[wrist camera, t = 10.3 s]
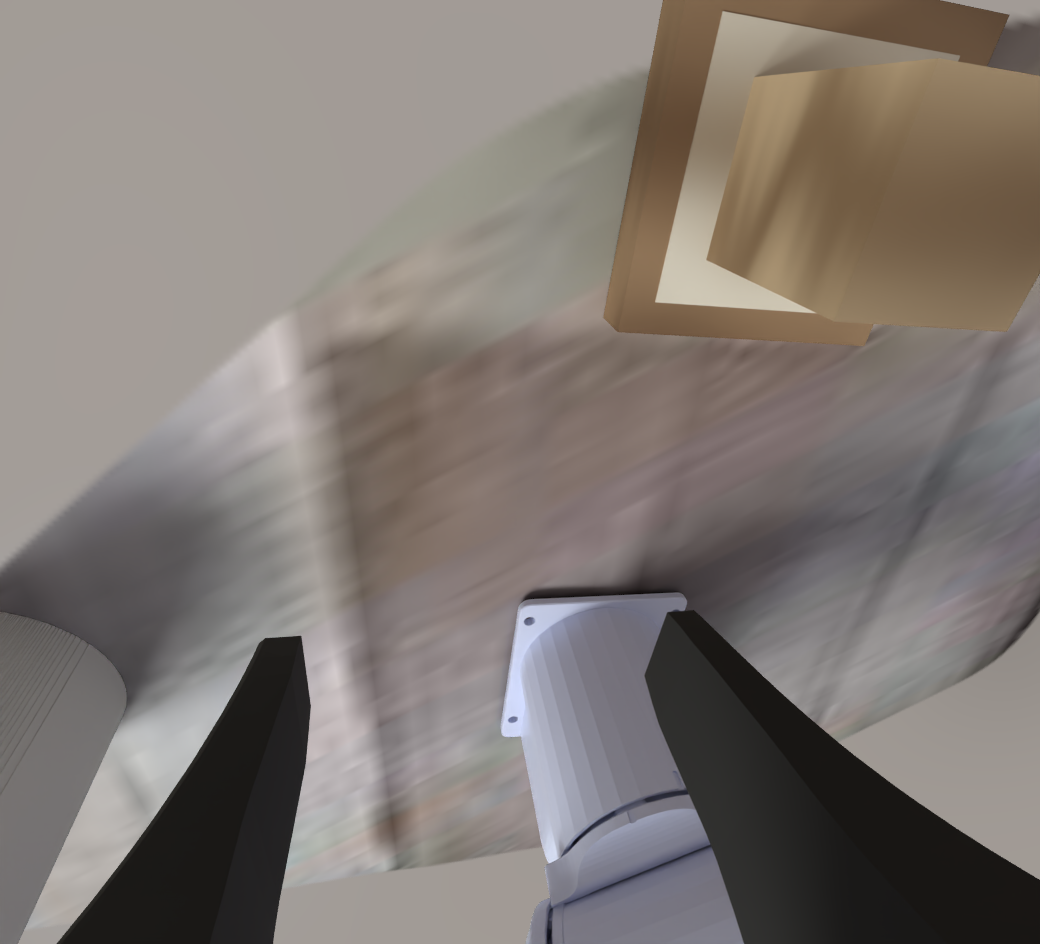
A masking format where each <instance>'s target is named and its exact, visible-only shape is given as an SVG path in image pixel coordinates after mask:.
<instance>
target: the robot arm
mask: <svg viewBox="0 0 1040 944" xmlns="http://www.w3.org/2000/svg"><path fill="white" fill-rule="evenodd" d="M686 606H687V600H686V598H685V597H684V595H683V594H682V593H655V594H634V595H612V596H590V597H569V598H547V599H529V600H525V601H523V602H522V603H521V604H520V605H519V608H518V613H517V620H516V627H515V633H514V640H513V647H512V654H511V660H510V667H509V674H508V680H507V687H506V694H505V700H504V707H503V714H502V720H501V732H502V735H503V736H506V737H516V736H521V739H522V744H523V749H524V755H525V760H526V765H527V770H528V775H529V781H530V786H531V791H532V796H533V801H534V807H535V812H536V817H537V822H538V827H539V832H540V838H541V843H542V846H543V850H544V853H545V856H546V858H547V861H548V863H549V864H547V865H546V866H545V872H546V878H547V884H548V889H549V894H550V898H548V899H546V900H544V901H542V902H540V904H538V905H537V907H536V909H535V911H534V913H533V916H532V921H531V926H530V930H529V933H528V936H527V939H526V944H1040V880H1039V879H1037V878H1035V877H1034V876H1032V875H1030V874H1029V873H1027V872H1025V871H1024V870H1022V869H1021V868H1019V867H1017V866H1016V865H1014V864H1012V863H1011V862H1009V861H1007V860H1006V859H1004V858H1002V857H1001V856H999V855H997V854H996V853H994V852H992V851H991V850H989V849H988V848H986V847H984V846H983V845H981V844H980V843H978V842H977V841H975V840H973V839H972V838H970V837H969V836H967V835H966V834H964V833H962V832H961V831H959V830H958V829H956V828H955V827H953V826H952V825H950V824H949V823H947V822H946V821H945V820H943V819H941V818H940V817H938V816H937V815H936V814H934V813H933V812H931V811H930V810H928V809H927V808H925V807H924V806H922V805H921V804H919V803H918V802H917V801H915V800H914V799H912V798H911V797H909V796H908V795H906V794H905V793H904V792H902V791H901V790H900V789H898V788H897V787H895V786H894V785H893V784H891V783H890V782H888V781H887V780H886V779H885V778H883V777H882V776H881V775H879V774H878V773H877V772H876V771H874V770H873V769H872V768H870V767H869V766H867V765H866V764H865V763H864V762H862V761H861V760H860V759H858V758H857V757H856V756H854V755H853V754H852V753H851V752H849V751H848V750H847V749H846V748H844V747H843V746H842V745H841V744H839V743H838V742H837V741H836V740H835V739H833V738H832V737H831V736H830V735H829V734H828V733H826V732H825V731H824V730H823V729H822V728H820V727H819V726H818V725H817V724H816V723H815V722H813V721H812V720H811V719H810V718H809V717H807V716H806V715H805V714H804V713H803V712H802V711H801V710H799V709H798V708H797V707H796V706H795V705H794V704H793V703H792V702H790V701H789V700H788V699H787V698H786V697H785V696H784V695H783V694H782V693H781V692H779V691H778V690H777V689H776V688H775V687H774V686H773V685H772V684H771V683H770V682H769V681H768V680H766V679H765V678H764V677H763V676H762V675H761V674H760V673H759V672H758V671H757V670H756V669H755V668H754V667H753V666H752V665H751V664H750V663H748V662H747V661H746V660H745V659H744V658H743V657H742V656H741V655H740V654H739V653H738V652H737V651H736V650H735V649H734V648H733V647H732V646H731V645H730V644H729V643H728V642H727V641H726V640H725V639H724V638H723V637H721V636H720V635H719V634H718V633H717V632H716V631H715V630H714V629H713V628H712V627H711V626H710V625H709V624H708V623H707V622H706V621H705V620H704V619H703V618H702V617H701V616H699V615H698V614H697V613H696V612H695V611H694V610H691V611H685V608H686ZM528 617H531V618H529V619H526V618H528ZM310 708H311V705H310V697H309V690H308V682H307V675H306V668H305V660H304V653H303V646H302V638H301V636H293V637H278V638H265V639H264V640H263V641H261V642H260V643H259V645H258V647H257V649H256V651H255V653H254V655H253V657H252V659H251V661H250V663H249V665H248V667H247V669H246V671H245V673H244V675H243V677H242V679H241V681H240V682H239V684H238V686H237V688H236V690H235V692H234V693H233V695H232V697H231V699H230V700H229V702H228V704H227V706H226V707H225V709H224V711H223V713H222V714H221V716H220V718H219V719H218V721H217V722H216V724H215V726H214V727H213V729H212V731H211V732H210V734H209V735H208V737H207V739H206V740H205V742H204V744H203V745H202V747H201V748H200V750H199V752H198V753H197V755H196V757H195V758H194V760H193V761H192V763H191V764H190V766H189V767H188V769H187V770H186V772H185V773H184V775H183V776H182V778H181V779H180V781H179V782H178V784H177V785H176V787H175V788H174V789H173V791H172V792H171V794H170V795H169V797H168V798H167V800H166V801H165V803H164V804H163V806H162V807H161V809H160V810H159V812H158V813H157V814H156V816H155V817H154V819H153V820H152V822H151V823H150V824H149V826H148V827H147V829H146V830H145V831H144V833H143V834H142V835H141V837H140V838H139V840H138V841H137V842H136V844H135V845H134V846H133V848H132V849H131V850H130V852H129V853H128V854H127V856H126V857H125V858H124V860H123V861H122V862H121V864H120V865H119V866H118V868H117V869H116V870H115V872H114V873H113V874H112V875H111V877H110V878H109V879H108V881H107V882H106V883H105V885H104V886H103V887H102V888H101V890H100V891H99V892H98V894H97V895H96V896H95V897H94V899H93V900H92V901H91V902H90V904H89V905H88V906H87V907H86V908H85V910H84V911H83V912H82V913H81V915H80V916H79V917H78V918H77V920H76V921H75V922H74V923H73V924H72V926H71V927H70V928H69V929H68V931H67V932H66V933H65V934H64V935H63V937H62V938H61V939H60V941H59V942H58V943H57V944H273V938H274V931H275V925H276V918H277V912H278V906H279V900H280V895H281V889H282V884H283V879H284V874H285V869H286V864H287V858H288V853H289V848H290V843H291V838H292V833H293V827H294V822H295V817H296V812H297V807H298V801H299V796H300V791H301V786H302V780H303V775H304V769H305V764H306V754H307V743H308V732H309V720H310Z"/></svg>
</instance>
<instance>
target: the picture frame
mask: <svg viewBox="0 0 1040 944" xmlns="http://www.w3.org/2000/svg"><path fill="white" fill-rule="evenodd" d="M1008 17H1009V15H1007V14H1003V13H998V12H993V11H988V10H984V9H979V8H974V7H969V6H965V5H960V4H955V3H950V2H945V1H940V0H663V3H662V9H661V14H660V19H659V25H658V30H657V35H656V41H655V46H654V51H653V57H652V62H651V67H650V73H649V78H648V83H647V89H646V94H645V99H644V104H643V110H642V115H641V120H640V126H639V131H638V136H637V142H636V147H635V152H634V158H633V163H632V168H631V174H630V179H629V184H628V190H627V195H626V200H625V205H624V211H623V216H622V221H621V227H620V232H619V237H618V243H617V248H616V253H615V259H614V264H613V269H612V275H611V280H610V285H609V291H608V296H607V301H606V307H605V312H604V317H603V318H604V319H605V320H606V321H607V322H608V323H609V324H610V325H611V326H612V327H613V328H614V329H615V330H616V331H617V332H625V333H643V334H661V335H679V336H697V337H715V338H733V339H751V340H769V341H786V342H804V343H822V344H840V345H858V346H864V345H865V343H866V340H867V338H868V336H869V334H870V331H871V329H872V327H873V324H865V323H848V322H834V321H832V320H830V319H828V318H826V317H824V316H822V315H819V314H817V313H815V312H813V311H811V310H809V309H807V308H805V307H803V306H801V305H799V304H797V303H795V302H792V301H790V300H788V299H786V298H784V297H782V296H780V295H778V294H776V293H774V292H772V291H770V290H768V289H765V288H763V287H761V286H759V285H757V284H755V283H753V282H751V281H749V280H747V279H745V278H743V277H740V276H738V275H736V274H734V273H732V272H730V271H728V270H726V269H724V268H722V267H720V266H718V265H716V264H713V263H711V262H709V261H707V260H706V258H707V255H708V251H709V247H710V243H711V239H712V236H713V232H714V228H715V224H716V220H717V217H718V213H719V209H720V205H721V201H722V198H723V194H724V190H725V186H726V182H727V179H728V175H729V171H730V167H731V163H732V160H733V156H734V152H735V148H736V144H737V141H738V137H739V133H740V129H741V125H742V122H743V118H744V114H745V110H746V106H747V103H748V99H749V95H750V91H751V87H752V84H753V80H754V77H760V76H769V75H779V74H789V73H799V72H809V71H818V70H828V69H838V68H848V67H858V66H867V65H877V64H887V63H897V62H907V61H916V60H926V59H936V58H941V59H946V60H952V61H958V62H963V63H969V64H975V65H981V66H986V67H987V65H988V63H989V60H990V58H991V56H992V54H993V51H994V49H995V47H996V45H997V42H998V40H999V38H1000V35H1001V33H1002V31H1003V29H1004V26H1005V24H1006V22H1007V19H1008Z"/></svg>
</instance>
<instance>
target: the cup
mask: <svg viewBox="0 0 1040 944" xmlns="http://www.w3.org/2000/svg"><path fill="white" fill-rule="evenodd" d="M111 663H112V662H110V661H109V660H108V659H107V657H106V656H104V655H103V654H102V653H101V652H99V651H98V650H97V649H96V648H94V647H93V646H92V645H91V644H88V643H86V642H85V641H84V640H83V639H80V638H79V637H77V636H74V635H73V634H70V633H69V632H66V631H65V630H62V629H61V628H58V627H55V626H53V625H51V624H48V623H45V622H42V621H37V620H34V619H33V618H32V619H31V618H28V617H23V616H20V615H16V614H15V615H14V614H9V613H6V612H5V613H4V612H0V944H18V942H19V940H20V938H21V935H22V933H23V931H24V929H25V927H26V925H27V923H28V920H29V918H30V916H31V914H32V912H33V910H34V907H35V905H36V903H37V901H38V899H39V897H40V894H41V892H42V890H43V888H44V886H45V884H46V881H47V879H48V877H49V875H50V873H51V871H52V868H53V866H54V864H55V862H56V860H57V858H58V855H59V853H60V851H61V849H62V847H63V845H64V842H65V840H66V838H67V836H68V834H69V832H70V829H71V827H72V825H73V823H74V821H75V819H76V816H77V814H78V812H79V810H80V808H81V806H82V803H83V801H84V799H85V797H86V795H87V793H88V790H89V788H90V786H91V784H92V782H93V780H94V777H95V775H96V773H97V771H98V769H99V767H100V764H101V762H102V760H103V758H104V756H105V754H106V751H107V749H108V747H109V745H110V743H111V741H112V738H113V736H114V734H115V732H116V730H117V728H118V725H119V723H120V721H121V719H122V717H123V715H124V712H125V709H126V705H127V702H126V701H127V697H126V696H127V693H126V692H127V691H126V689H125V688H126V687H125V685H124V682H123V680H122V678H121V676H120V674H119V673H118V671H117V669H116V668H115V666H114V665H112V664H111Z"/></svg>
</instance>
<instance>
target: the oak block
mask: <svg viewBox="0 0 1040 944" xmlns="http://www.w3.org/2000/svg"><path fill="white" fill-rule="evenodd" d="M706 260H707V261H709V262H711V263H713V264H716V265H718V266H720V267H722V268H724V269H726V270H728V271H730V272H732V273H734V274H736V275H738V276H740V277H743V278H745V279H747V280H749V281H751V282H753V283H755V284H757V285H759V286H761V287H763V288H765V289H768V290H770V291H772V292H774V293H776V294H778V295H780V296H782V297H784V298H786V299H788V300H790V301H792V302H795V303H797V304H799V305H801V306H803V307H805V308H807V309H809V310H811V311H813V312H815V313H817V314H819V315H822V316H824V317H826V318H828V319H830V320H832V321H834V322H848V323H865V324H882V325H899V326H916V327H933V328H950V329H967V330H985V331H1002V332H1007V331H1008V329H1009V327H1010V325H1011V324H1012V322H1013V320H1014V318H1015V316H1016V315H1017V313H1018V311H1019V309H1020V308H1021V306H1022V304H1023V302H1024V300H1025V299H1026V297H1027V295H1028V293H1029V292H1030V290H1031V288H1032V286H1033V284H1034V283H1035V281H1036V279H1037V277H1038V276H1039V274H1040V76H1037V75H1032V74H1026V73H1020V72H1015V71H1009V70H1003V69H998V68H992V67H986V66H981V65H975V64H969V63H963V62H958V61H952V60H946V59H941V58H936V59H926V60H916V61H907V62H897V63H887V64H877V65H867V66H858V67H848V68H838V69H828V70H818V71H809V72H799V73H789V74H779V75H769V76H760V77H754V80H753V84H752V87H751V91H750V95H749V99H748V103H747V106H746V110H745V114H744V118H743V122H742V125H741V129H740V133H739V137H738V141H737V144H736V148H735V152H734V156H733V160H732V163H731V167H730V171H729V175H728V179H727V182H726V186H725V190H724V194H723V198H722V201H721V205H720V209H719V213H718V217H717V220H716V224H715V228H714V232H713V236H712V239H711V243H710V247H709V251H708V255H707V258H706Z"/></svg>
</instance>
